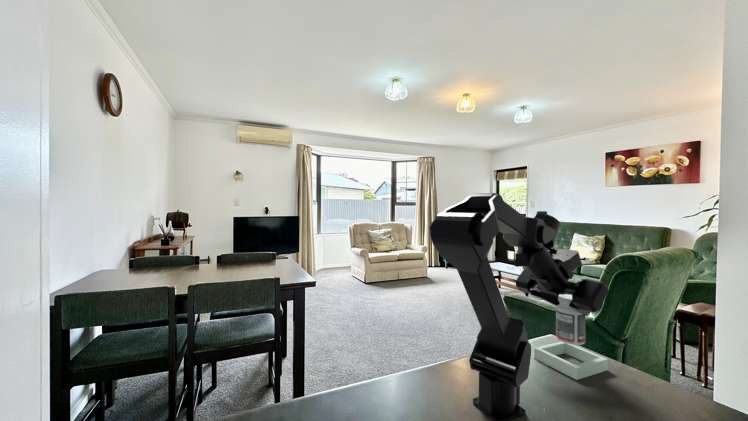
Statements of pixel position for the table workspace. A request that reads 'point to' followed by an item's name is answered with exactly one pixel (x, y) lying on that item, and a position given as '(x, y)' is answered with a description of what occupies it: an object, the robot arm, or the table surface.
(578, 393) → the table surface
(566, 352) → the bottle holder
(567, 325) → the pill bottle
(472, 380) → the table surface
